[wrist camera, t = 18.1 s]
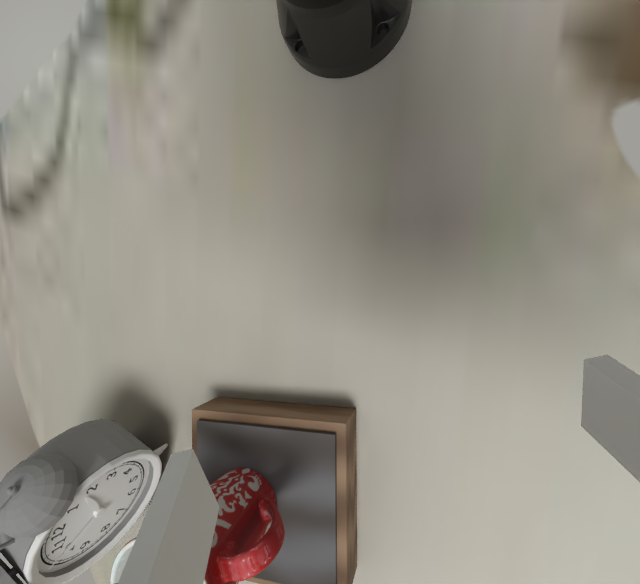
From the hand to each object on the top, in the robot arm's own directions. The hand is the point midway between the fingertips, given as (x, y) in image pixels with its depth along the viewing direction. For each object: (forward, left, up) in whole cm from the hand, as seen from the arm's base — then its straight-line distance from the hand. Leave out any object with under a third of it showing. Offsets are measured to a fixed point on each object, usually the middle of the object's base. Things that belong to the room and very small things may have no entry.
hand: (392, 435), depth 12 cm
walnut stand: (+17, -16, -30) cm, 38 cm away
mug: (+17, -16, -24) cm, 33 cm away
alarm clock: (+18, -37, -30) cm, 51 cm away
